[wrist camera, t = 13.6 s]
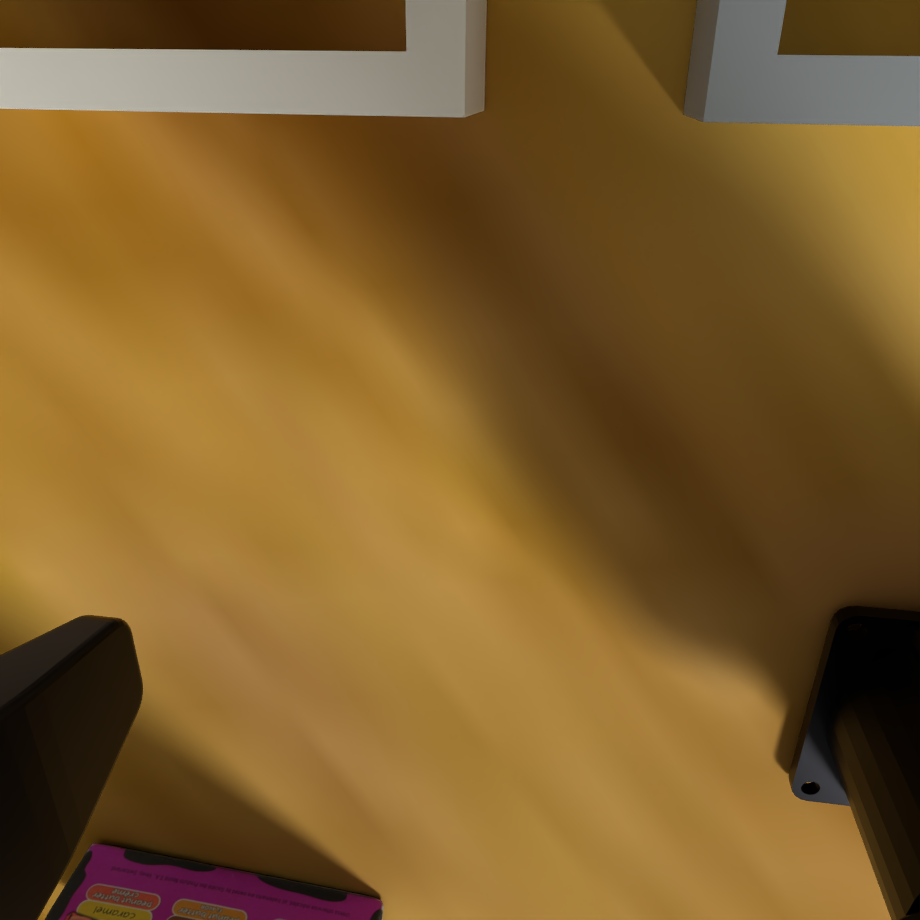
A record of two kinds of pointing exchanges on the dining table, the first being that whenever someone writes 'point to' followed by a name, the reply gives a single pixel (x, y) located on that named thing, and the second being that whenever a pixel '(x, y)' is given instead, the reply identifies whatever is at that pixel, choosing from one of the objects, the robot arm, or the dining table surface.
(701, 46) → the grey square frame
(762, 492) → the dining table surface
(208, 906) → the candy bar box
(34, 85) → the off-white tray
